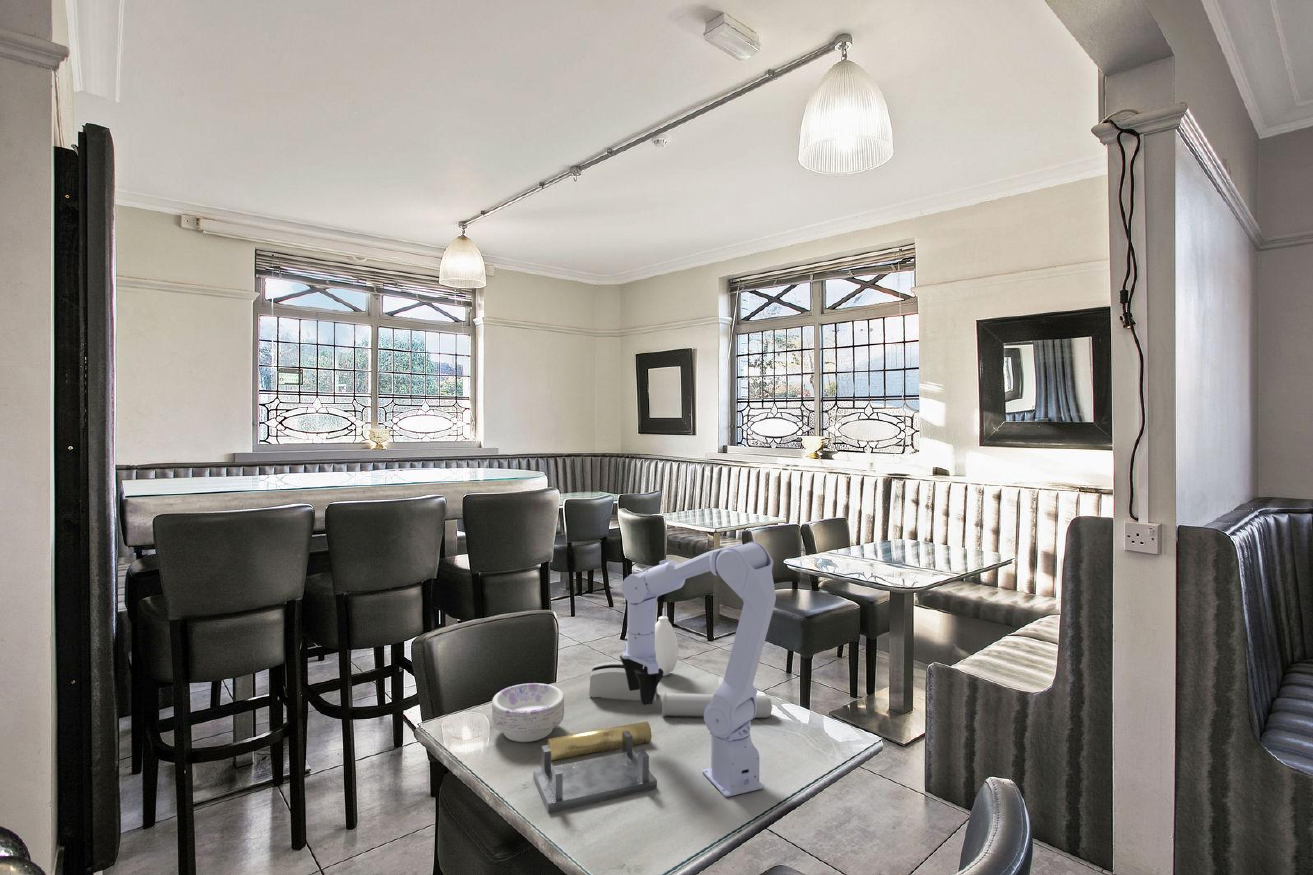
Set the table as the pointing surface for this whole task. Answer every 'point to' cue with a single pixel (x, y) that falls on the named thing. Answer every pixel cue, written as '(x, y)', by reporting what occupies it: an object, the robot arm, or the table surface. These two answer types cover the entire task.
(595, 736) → the brass pin
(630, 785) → the corner post stand
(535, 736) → the paper bowls
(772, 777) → the table surface
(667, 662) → the white air blower bulb
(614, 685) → the white rounded block
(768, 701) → the tube
